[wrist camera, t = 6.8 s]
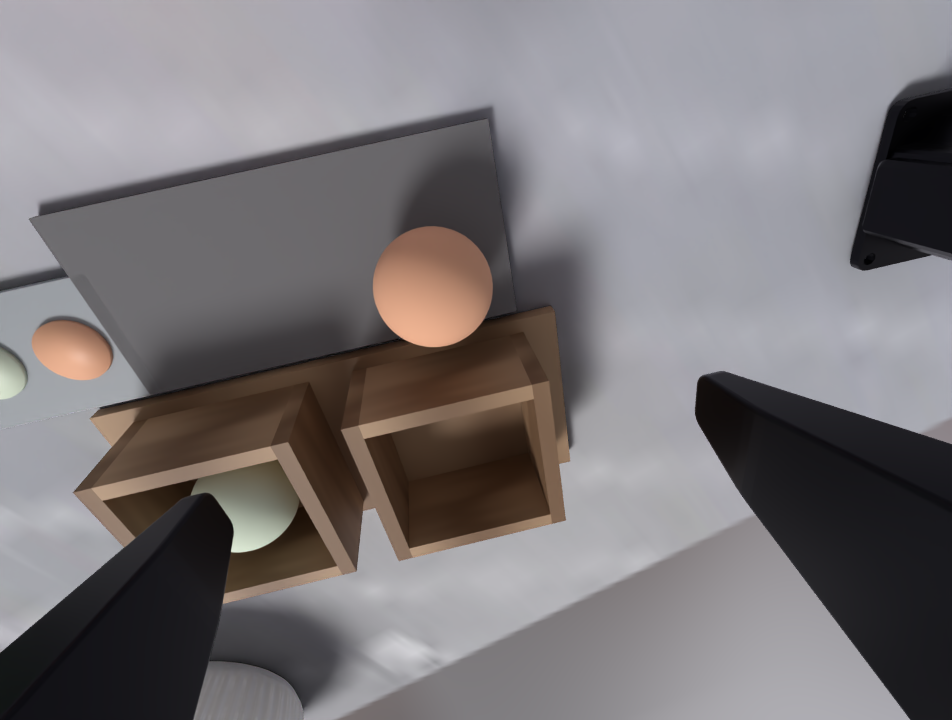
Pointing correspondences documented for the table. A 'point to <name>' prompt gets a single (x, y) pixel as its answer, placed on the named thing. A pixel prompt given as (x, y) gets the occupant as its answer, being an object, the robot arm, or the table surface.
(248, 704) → the ramekin
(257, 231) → the mat
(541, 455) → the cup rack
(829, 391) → the table surface
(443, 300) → the ball terracotta
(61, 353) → the card
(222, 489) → the ball sage
